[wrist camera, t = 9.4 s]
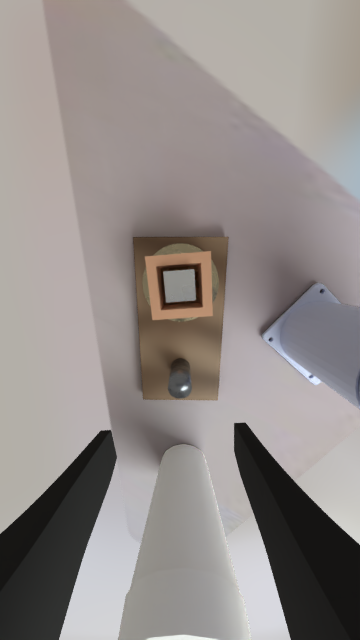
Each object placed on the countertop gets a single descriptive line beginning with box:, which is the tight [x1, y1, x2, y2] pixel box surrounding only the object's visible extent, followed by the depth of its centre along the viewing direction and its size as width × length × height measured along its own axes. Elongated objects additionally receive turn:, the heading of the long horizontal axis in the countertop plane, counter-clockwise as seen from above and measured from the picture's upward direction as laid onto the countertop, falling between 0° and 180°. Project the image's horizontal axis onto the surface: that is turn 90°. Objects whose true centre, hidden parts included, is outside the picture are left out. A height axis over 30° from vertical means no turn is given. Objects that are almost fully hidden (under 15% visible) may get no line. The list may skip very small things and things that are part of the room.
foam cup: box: [118, 444, 252, 640], centre depth 17 cm, size 10×9×13 cm
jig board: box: [133, 237, 228, 400], centre depth 18 cm, size 18×9×1 cm, turn 0°
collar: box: [145, 251, 213, 320], centre depth 15 cm, size 5×5×3 cm
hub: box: [142, 244, 219, 322], centre depth 15 cm, size 8×8×4 cm
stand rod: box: [168, 358, 192, 399], centre depth 17 cm, size 2×2×4 cm
